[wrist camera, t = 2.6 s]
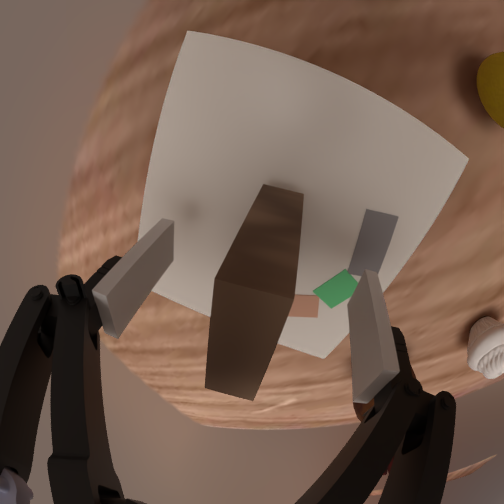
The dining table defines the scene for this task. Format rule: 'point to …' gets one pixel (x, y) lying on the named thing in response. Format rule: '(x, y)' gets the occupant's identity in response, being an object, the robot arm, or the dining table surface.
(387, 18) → the dining table surface
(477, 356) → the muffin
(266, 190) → the dark wooden block
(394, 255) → the dial board
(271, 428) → the dining table surface
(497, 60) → the lemon
